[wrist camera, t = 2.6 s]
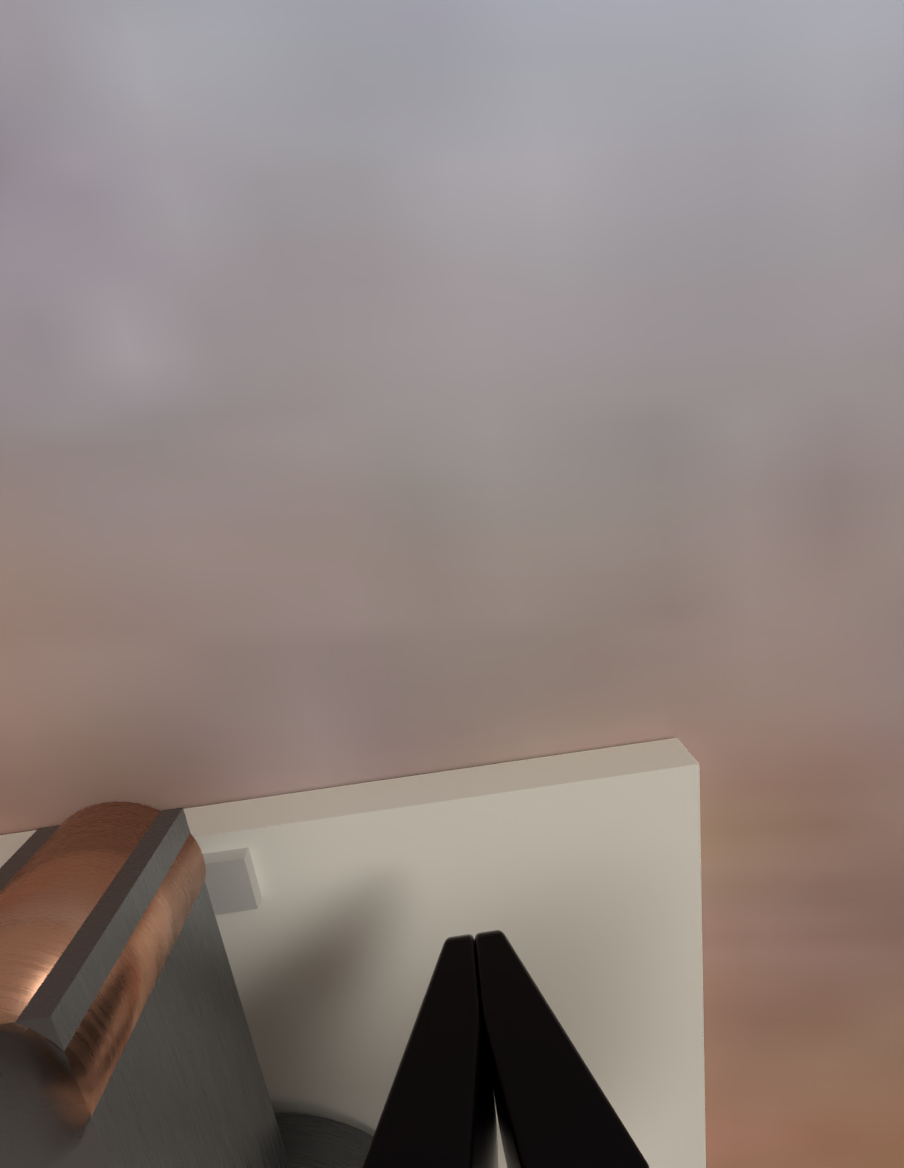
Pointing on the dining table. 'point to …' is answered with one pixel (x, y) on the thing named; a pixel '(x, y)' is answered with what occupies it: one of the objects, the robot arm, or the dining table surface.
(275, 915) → the plate
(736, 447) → the dining table surface
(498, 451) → the dining table surface
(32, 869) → the lever
